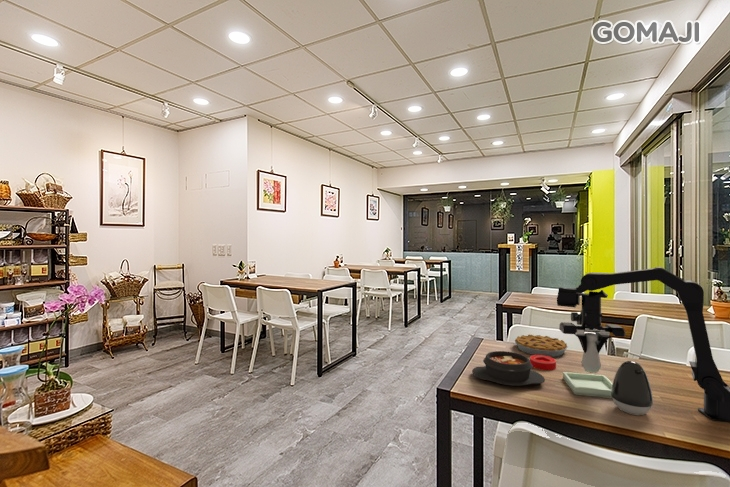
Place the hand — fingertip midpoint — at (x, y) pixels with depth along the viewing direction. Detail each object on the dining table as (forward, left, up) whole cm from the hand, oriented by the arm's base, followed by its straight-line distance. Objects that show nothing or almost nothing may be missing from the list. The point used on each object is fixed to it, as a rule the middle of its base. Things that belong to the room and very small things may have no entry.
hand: (591, 353), depth 124 cm
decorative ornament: (+19, +11, -13) cm, 25 cm away
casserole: (+1, +27, -12) cm, 30 cm away
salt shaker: (0, 0, -6) cm, 6 cm away
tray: (0, 0, -12) cm, 12 cm away
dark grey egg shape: (-15, -6, -12) cm, 20 cm away
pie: (+41, +7, -13) cm, 43 cm away
